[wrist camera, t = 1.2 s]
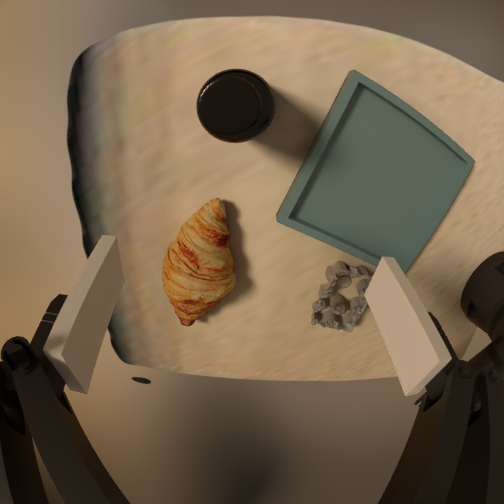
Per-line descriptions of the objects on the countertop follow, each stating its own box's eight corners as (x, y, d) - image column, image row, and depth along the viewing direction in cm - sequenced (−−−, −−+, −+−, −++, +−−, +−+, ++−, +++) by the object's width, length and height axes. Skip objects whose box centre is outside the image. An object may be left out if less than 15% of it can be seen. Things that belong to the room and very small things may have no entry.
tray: (466, 156, 29) (475, 161, 28) (396, 269, 39) (401, 278, 37) (349, 71, 26) (354, 69, 24) (276, 214, 36) (276, 221, 34)
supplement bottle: (285, 92, 28) (294, 89, 18) (257, 142, 32) (250, 167, 21) (230, 65, 27) (208, 50, 17) (203, 117, 30) (170, 129, 20)
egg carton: (330, 254, 39) (336, 271, 36) (376, 266, 40) (384, 283, 36) (304, 311, 44) (307, 329, 41) (347, 319, 45) (351, 337, 41)
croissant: (203, 180, 38) (160, 189, 32) (266, 211, 35) (229, 227, 28) (179, 298, 48) (145, 319, 42) (225, 331, 45) (194, 358, 39)
